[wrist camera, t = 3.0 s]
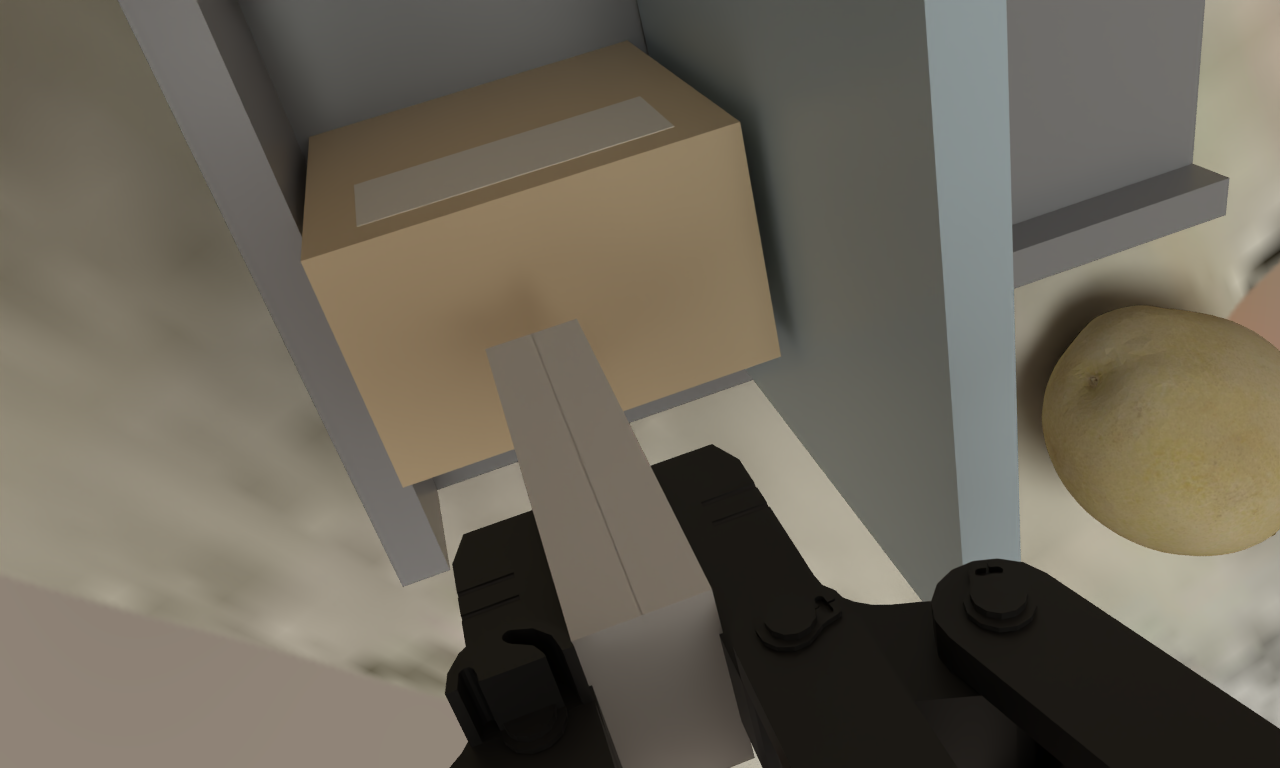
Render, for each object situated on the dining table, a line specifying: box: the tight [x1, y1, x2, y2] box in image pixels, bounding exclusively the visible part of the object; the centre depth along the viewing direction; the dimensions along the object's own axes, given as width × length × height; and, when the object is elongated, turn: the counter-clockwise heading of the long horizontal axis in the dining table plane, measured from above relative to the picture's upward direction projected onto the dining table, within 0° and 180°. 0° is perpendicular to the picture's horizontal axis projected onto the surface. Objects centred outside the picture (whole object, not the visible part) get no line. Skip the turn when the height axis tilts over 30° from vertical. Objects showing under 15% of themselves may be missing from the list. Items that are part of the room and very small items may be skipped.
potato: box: [1042, 305, 1280, 556], centre depth 32 cm, size 8×8×8 cm
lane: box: [118, 0, 1229, 587], centre depth 24 cm, size 14×26×6 cm, turn 104°
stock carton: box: [301, 41, 781, 488], centre depth 22 cm, size 5×8×8 cm, turn 104°
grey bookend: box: [637, 0, 1021, 602], centre depth 20 cm, size 11×4×14 cm, turn 14°
